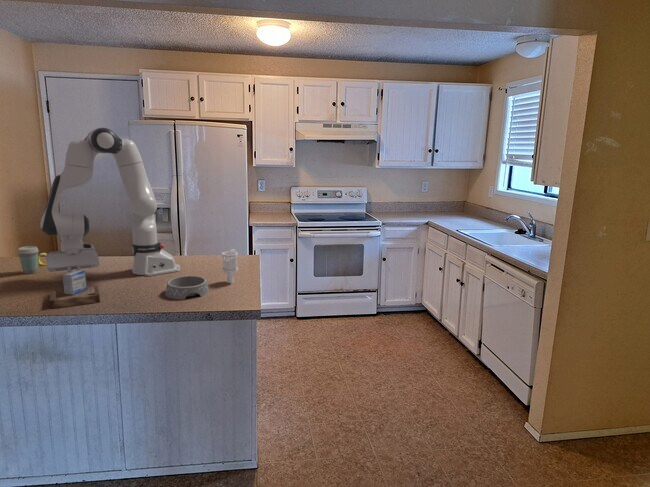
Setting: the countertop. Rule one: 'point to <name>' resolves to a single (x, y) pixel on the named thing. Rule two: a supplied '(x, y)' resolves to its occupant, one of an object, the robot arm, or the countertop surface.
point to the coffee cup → (29, 259)
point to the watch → (39, 258)
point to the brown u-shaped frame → (74, 299)
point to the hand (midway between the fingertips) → (74, 277)
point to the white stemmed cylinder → (230, 264)
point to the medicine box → (74, 282)
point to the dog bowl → (186, 287)
